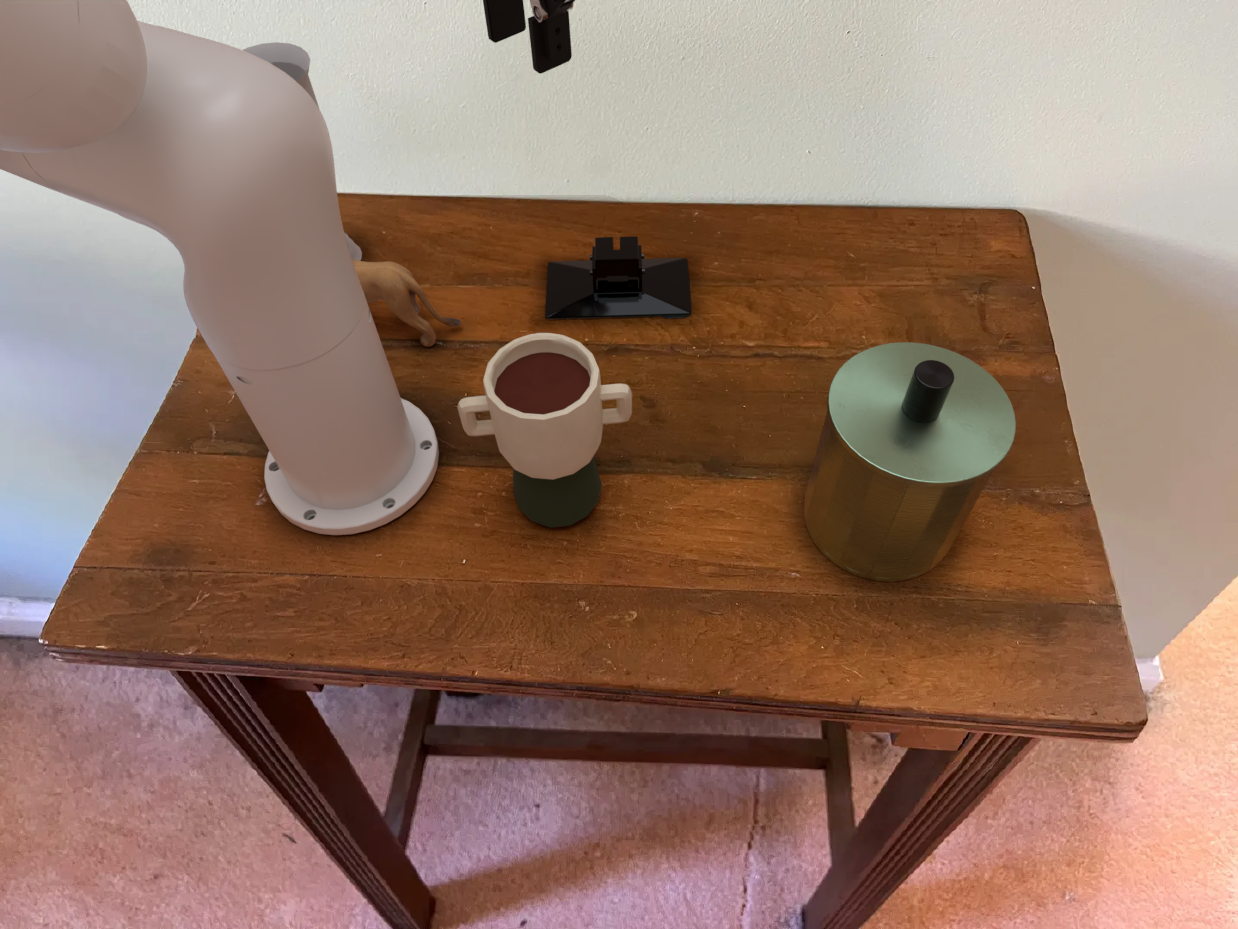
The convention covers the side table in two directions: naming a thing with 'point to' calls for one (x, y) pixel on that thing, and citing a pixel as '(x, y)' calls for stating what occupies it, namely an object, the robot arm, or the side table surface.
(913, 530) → the pot
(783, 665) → the side table surface
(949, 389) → the pot lid
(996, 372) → the side table surface
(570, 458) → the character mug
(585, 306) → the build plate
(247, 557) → the side table surface
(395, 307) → the lion figurine
